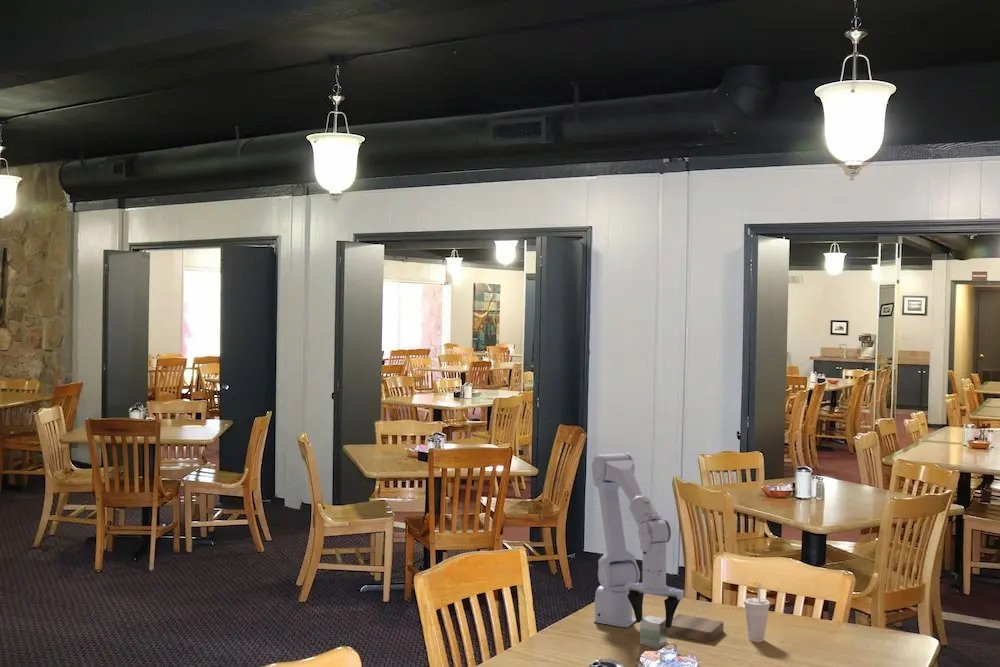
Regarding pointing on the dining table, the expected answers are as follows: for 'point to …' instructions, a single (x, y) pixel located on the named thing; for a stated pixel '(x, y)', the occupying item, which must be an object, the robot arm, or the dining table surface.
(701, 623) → the walnut block
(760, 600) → the smoothie
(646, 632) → the steel tin
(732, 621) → the dining table surface
